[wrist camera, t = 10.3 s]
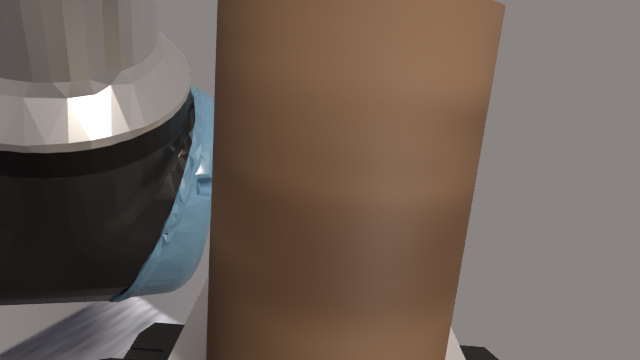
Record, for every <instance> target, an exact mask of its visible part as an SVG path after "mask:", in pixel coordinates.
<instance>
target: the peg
mask: <svg viewBox="0 0 640 360" xmlns="http://www.w3.org/2000/svg"><path fill="white" fill-rule="evenodd" d="M504 11H505V6H504V5H503V4H501V3H499V2H496V1H493V0H218V9H217V40H216V70H215V100H214V130H213V160H212V191H211V221H210V251H209V282H208V312H207V343H206V360H445V357H446V351H447V345H448V339H449V334H450V328H451V321H452V316H453V310H454V304H455V298H456V293H457V287H458V281H459V275H460V269H461V262H462V257H463V252H464V246H465V240H466V234H467V228H468V222H469V215H470V211H471V204H472V198H473V192H474V187H475V181H476V175H477V169H478V163H479V157H480V151H481V146H482V140H483V134H484V128H485V123H486V117H487V111H488V105H489V99H490V93H491V87H492V82H493V76H494V69H495V64H496V58H497V52H498V45H499V41H500V34H501V28H502V23H503V17H504Z"/></svg>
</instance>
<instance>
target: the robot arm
mask: <svg viewBox="0 0 640 360" xmlns="http://www.w3.org/2000/svg"><path fill="white" fill-rule="evenodd" d="M213 130H214V100H213V98H212V96H211V95H210V94H209V93H207V92H206V91H203V90H199V89H198V88H195V87H193V86H191V72H190V67H189V65H188V63H187V60H186V58H185V57H184V55H183V54H182V52H181V51H180V50H179V49H178V48H177V47H176V46H175V45H174V44H173V43H172V42H171V41H170V40H168V39H167V38H166V37H165V36H164V35H162V33H160V32H159V31H158V0H0V305H19V304H43V303H66V302H67V303H68V302H89V301H90V302H91V301H110V302H121V301H123V300H126V299H128V298H130V297H135V296H144V295H153V294H163V293H169V292H172V291H175V290H177V289H178V288H180V287H181V286H183V285H184V284H186V283H187V282H188V280H189V279H190V278H191V277H192V275H193V274H194V272H195V271H196V269H197V267H198V264H199V262H200V259H201V257H202V254H203V250H204V247H205V244H206V239H207V235H208V230H209V226H210V221H211V191H212V160H213ZM208 282H209V276H208V279H207V281H206V282H205V284H204V287H203V289H202V291H201V293H200V295H199V297H198V299H197V301H196V303H195V305H194V307H193V309H192V311H191V313H190V315H189V317H188V319H187V321H186V323H185V325H180V324H167V323H154V324H152V325H151V326H149V327H148V328H147V329H145V330H144V331H142V332H141V333H139V335H138V336H137V338H136V339H135V341H134V343H133V344H132V346H131V347H130V350H128V352H127V354H126V355H125V357H124V358H123V359H117V358H108V359H101V360H206V343H207V312H208ZM445 360H498V359H497V358H496V357H495V356H494V355H493V354H491V353H490V352H489V351H488V350H487V349H486V348H484V347H475V346H461V345H459V344H458V342H457V339H456V337H455V335H454V333H453V331H452V328H450V334H449V339H448V345H447V351H446V357H445Z"/></svg>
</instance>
